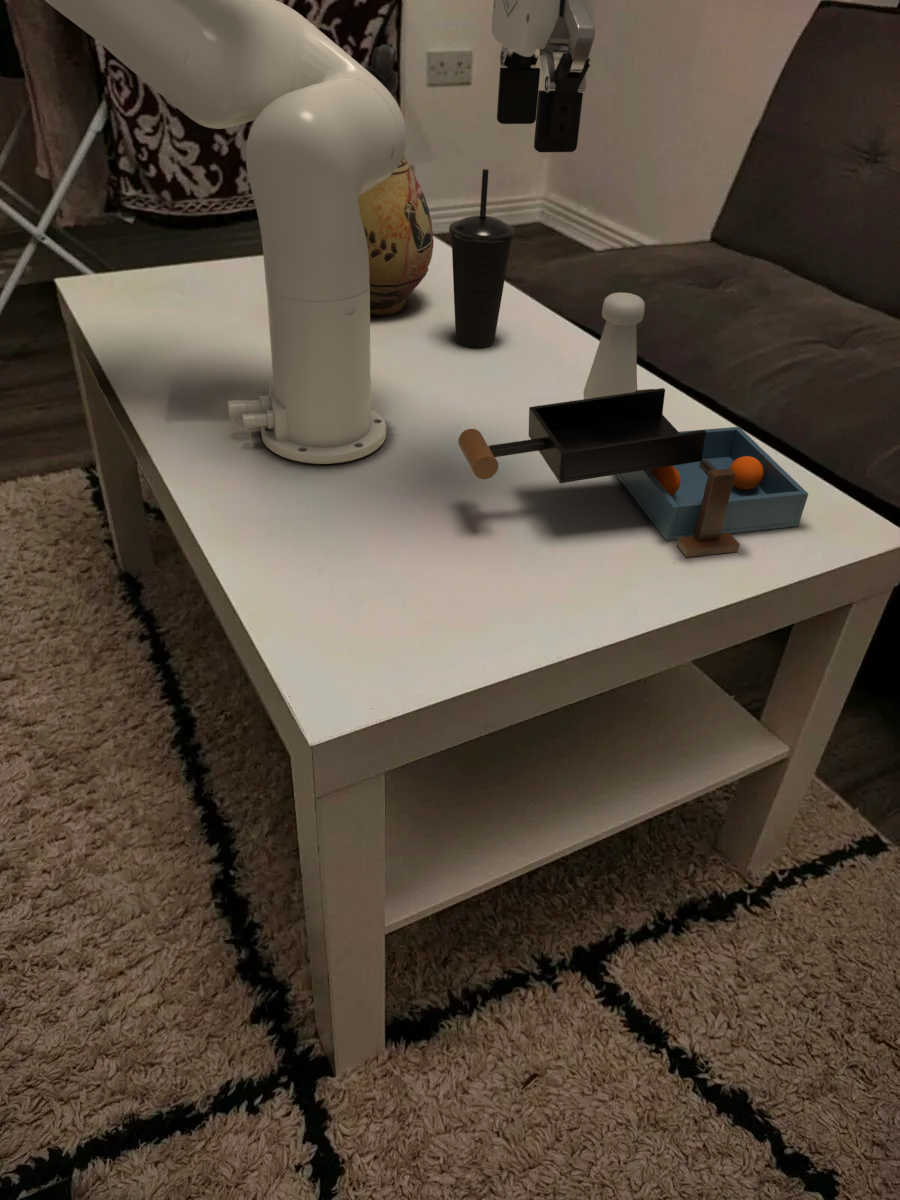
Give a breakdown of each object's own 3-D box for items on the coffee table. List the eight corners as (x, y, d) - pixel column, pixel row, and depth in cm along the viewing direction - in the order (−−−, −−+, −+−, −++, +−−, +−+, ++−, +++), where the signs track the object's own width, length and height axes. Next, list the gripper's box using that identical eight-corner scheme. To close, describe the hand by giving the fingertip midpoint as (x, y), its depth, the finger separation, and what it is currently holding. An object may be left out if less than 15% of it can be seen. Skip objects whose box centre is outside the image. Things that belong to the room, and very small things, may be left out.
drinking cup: (486, 358, 116) (498, 182, 104) (432, 342, 119) (438, 170, 107) (516, 338, 121) (531, 169, 109) (464, 324, 124) (473, 158, 112)
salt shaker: (632, 429, 102) (652, 309, 94) (578, 422, 103) (594, 303, 95) (634, 405, 107) (654, 290, 99) (583, 399, 108) (599, 284, 100)
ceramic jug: (429, 328, 123) (438, 62, 105) (308, 322, 122) (296, 54, 104) (433, 282, 136) (441, 40, 118) (324, 277, 136) (315, 33, 118)
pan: (479, 496, 80) (478, 466, 78) (453, 446, 87) (452, 417, 85) (701, 461, 84) (706, 431, 82) (660, 416, 90) (663, 387, 89)
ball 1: (691, 476, 88) (678, 506, 90) (677, 459, 90) (664, 489, 92) (662, 472, 87) (648, 502, 89) (647, 455, 89) (635, 485, 91)
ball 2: (771, 463, 89) (768, 492, 91) (755, 447, 92) (751, 475, 94) (739, 470, 89) (736, 499, 91) (723, 454, 91) (721, 482, 93)
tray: (666, 540, 85) (673, 507, 83) (611, 468, 95) (616, 436, 93) (798, 526, 88) (808, 493, 86) (731, 457, 98) (739, 426, 96)
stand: (686, 557, 83) (703, 483, 79) (606, 454, 98) (617, 386, 93) (738, 551, 84) (758, 478, 80) (651, 450, 99) (664, 383, 94)
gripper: (471, -143, 71) (460, 114, 81) (546, -143, 57) (521, 164, 68) (567, -138, 72) (544, 113, 82) (662, -136, 59) (621, 163, 69)
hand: (534, 136), depth 75 cm, fingers open, 9 cm apart
